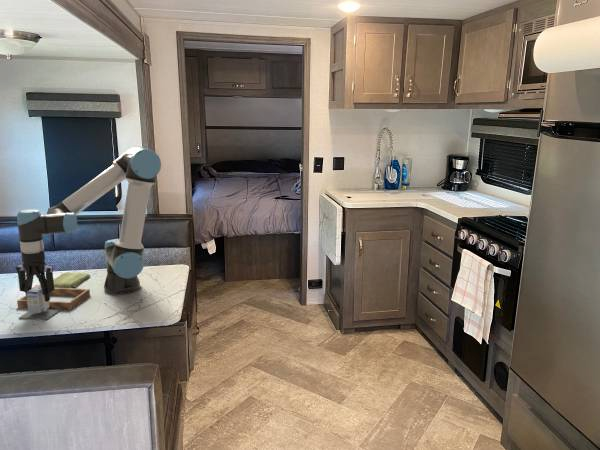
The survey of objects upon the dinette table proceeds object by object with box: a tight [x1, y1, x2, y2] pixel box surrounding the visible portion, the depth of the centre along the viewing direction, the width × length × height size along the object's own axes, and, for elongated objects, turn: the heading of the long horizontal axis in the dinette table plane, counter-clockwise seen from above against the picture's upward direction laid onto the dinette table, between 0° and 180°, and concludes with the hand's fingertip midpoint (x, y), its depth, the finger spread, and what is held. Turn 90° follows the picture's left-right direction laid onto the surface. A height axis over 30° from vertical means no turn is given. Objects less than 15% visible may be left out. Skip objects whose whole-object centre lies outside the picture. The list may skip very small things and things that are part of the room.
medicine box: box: [25, 284, 50, 313], centre depth 172 cm, size 8×4×9 cm, turn 4°
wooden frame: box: [16, 288, 91, 311], centre depth 186 cm, size 22×15×3 cm
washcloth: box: [53, 271, 91, 289], centre depth 208 cm, size 13×18×3 cm
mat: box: [18, 309, 62, 321], centre depth 174 cm, size 11×9×1 cm
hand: (39, 308), depth 173 cm, fingers closed on medicine box, 5 cm apart
